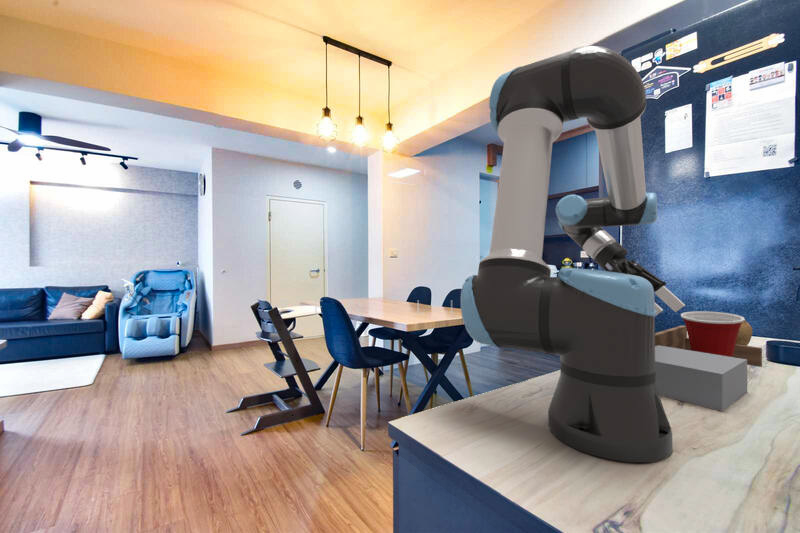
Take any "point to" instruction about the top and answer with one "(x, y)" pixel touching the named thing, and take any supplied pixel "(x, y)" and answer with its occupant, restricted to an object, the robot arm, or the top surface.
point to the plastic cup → (712, 331)
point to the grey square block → (700, 377)
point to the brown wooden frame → (679, 340)
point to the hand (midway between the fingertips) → (669, 311)
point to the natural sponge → (744, 334)
